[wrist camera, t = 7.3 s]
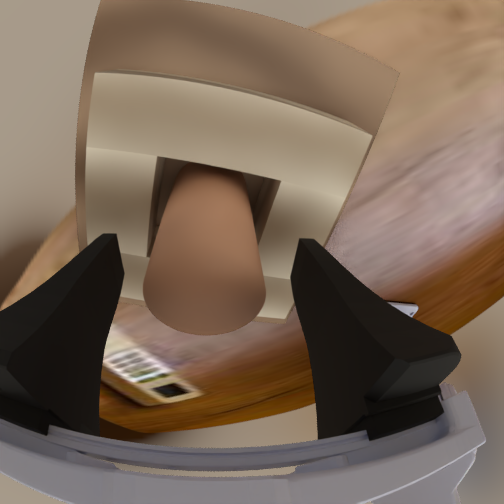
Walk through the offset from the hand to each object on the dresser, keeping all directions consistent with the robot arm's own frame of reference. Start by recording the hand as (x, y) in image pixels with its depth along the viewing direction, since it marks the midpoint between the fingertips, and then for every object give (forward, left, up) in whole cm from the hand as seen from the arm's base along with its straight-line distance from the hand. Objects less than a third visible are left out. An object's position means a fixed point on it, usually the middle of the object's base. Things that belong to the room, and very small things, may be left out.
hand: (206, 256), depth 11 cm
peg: (0, 0, -6) cm, 6 cm away
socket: (0, 0, -7) cm, 7 cm away
